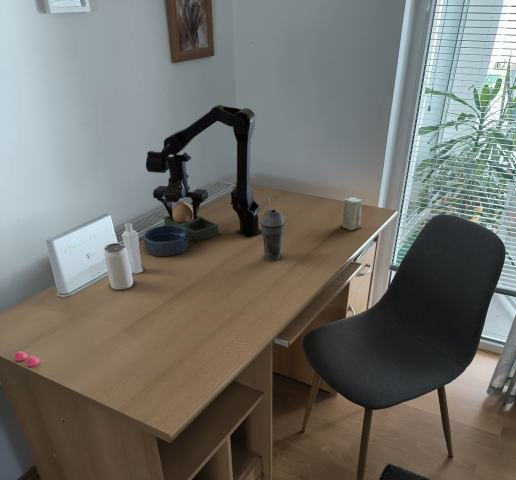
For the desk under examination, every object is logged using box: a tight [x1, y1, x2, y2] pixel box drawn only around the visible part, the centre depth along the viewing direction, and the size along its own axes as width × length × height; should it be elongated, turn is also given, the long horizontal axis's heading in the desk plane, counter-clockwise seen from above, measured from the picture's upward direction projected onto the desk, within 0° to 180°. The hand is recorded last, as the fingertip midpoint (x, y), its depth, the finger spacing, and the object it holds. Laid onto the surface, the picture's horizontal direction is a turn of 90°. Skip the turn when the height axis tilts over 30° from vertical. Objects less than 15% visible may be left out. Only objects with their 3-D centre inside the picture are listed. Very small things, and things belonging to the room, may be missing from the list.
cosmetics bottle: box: [341, 196, 363, 231], centre depth 175 cm, size 5×4×10 cm
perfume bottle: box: [121, 222, 144, 274], centre depth 149 cm, size 5×4×15 cm
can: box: [103, 242, 134, 291], centre depth 142 cm, size 6×6×12 cm
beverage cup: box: [260, 195, 285, 262], centre depth 153 cm, size 7×7×20 cm
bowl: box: [142, 224, 189, 257], centre depth 165 cm, size 14×14×5 cm
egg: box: [172, 201, 193, 224], centre depth 177 cm, size 7×7×8 cm
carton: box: [163, 214, 220, 243], centre depth 176 cm, size 19×10×4 cm, turn 43°
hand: (182, 217), depth 178 cm, fingers open, 9 cm apart
